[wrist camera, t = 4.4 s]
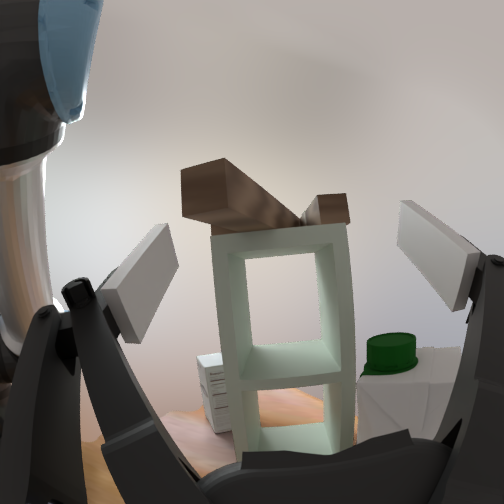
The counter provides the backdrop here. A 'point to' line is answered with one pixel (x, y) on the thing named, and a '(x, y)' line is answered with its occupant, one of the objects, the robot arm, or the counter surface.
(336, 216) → the banded slat
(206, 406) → the supplement box
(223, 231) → the banded slat
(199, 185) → the plain slat
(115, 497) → the counter surface
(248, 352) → the shelf unit
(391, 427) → the milk carton
